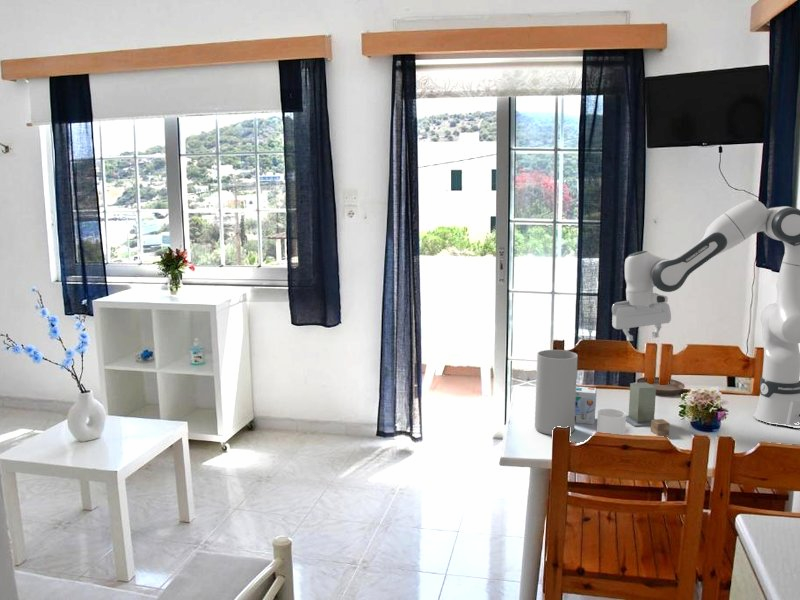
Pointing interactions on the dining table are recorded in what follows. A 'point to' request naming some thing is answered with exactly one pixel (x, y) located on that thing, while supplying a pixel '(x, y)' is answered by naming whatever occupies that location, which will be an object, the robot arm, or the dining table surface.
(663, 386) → the plant saucer
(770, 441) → the dining table surface
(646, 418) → the sage green pillar
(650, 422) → the slate mat
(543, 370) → the cylinder vase
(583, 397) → the light bulb box
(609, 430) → the cup
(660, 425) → the walnut block
